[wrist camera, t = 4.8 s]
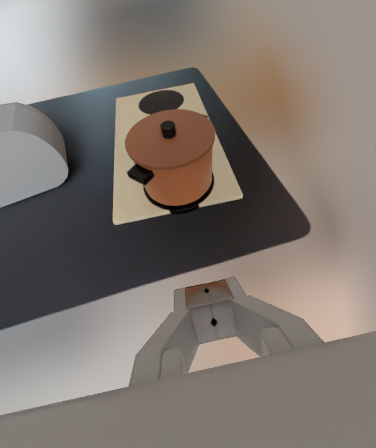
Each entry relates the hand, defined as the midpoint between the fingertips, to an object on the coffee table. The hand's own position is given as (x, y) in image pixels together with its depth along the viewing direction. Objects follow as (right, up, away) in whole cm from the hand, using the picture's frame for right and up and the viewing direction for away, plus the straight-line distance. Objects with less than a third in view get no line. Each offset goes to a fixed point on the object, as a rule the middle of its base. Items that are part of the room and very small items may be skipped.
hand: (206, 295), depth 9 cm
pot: (-3, +11, +25) cm, 27 cm away
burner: (-8, +35, +40) cm, 53 cm away
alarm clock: (-33, +12, +29) cm, 46 cm away
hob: (-6, +23, +33) cm, 40 cm away
